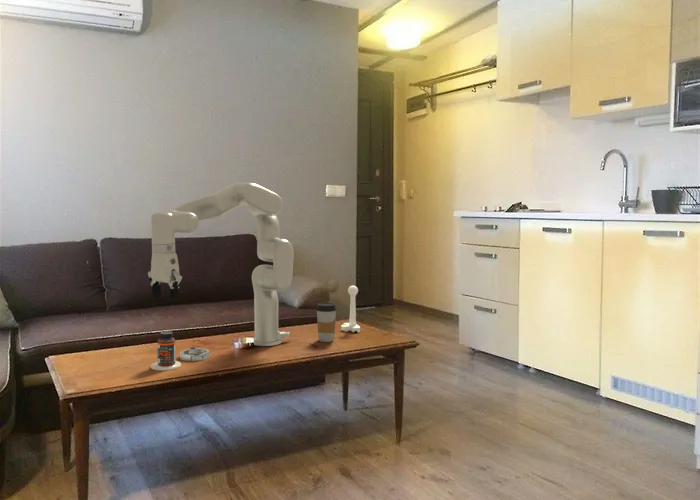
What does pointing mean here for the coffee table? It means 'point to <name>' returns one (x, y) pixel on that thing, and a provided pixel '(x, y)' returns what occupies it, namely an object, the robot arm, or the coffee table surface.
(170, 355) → the supplement bottle
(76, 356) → the coffee table surface
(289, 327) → the coffee table surface
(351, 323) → the joystick
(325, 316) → the coffee cup
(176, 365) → the coaster
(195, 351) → the ring holder
